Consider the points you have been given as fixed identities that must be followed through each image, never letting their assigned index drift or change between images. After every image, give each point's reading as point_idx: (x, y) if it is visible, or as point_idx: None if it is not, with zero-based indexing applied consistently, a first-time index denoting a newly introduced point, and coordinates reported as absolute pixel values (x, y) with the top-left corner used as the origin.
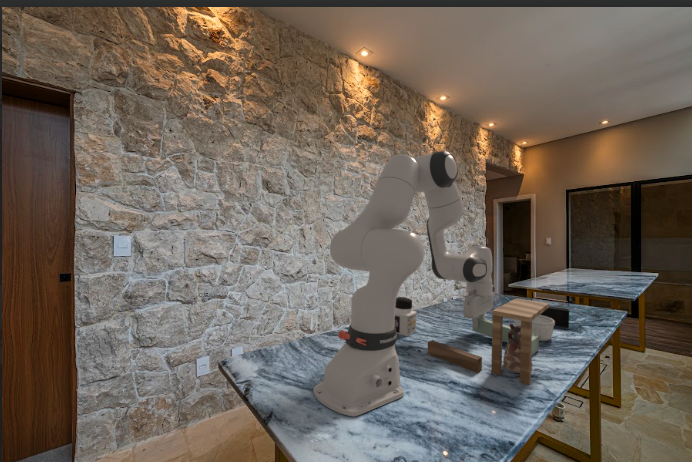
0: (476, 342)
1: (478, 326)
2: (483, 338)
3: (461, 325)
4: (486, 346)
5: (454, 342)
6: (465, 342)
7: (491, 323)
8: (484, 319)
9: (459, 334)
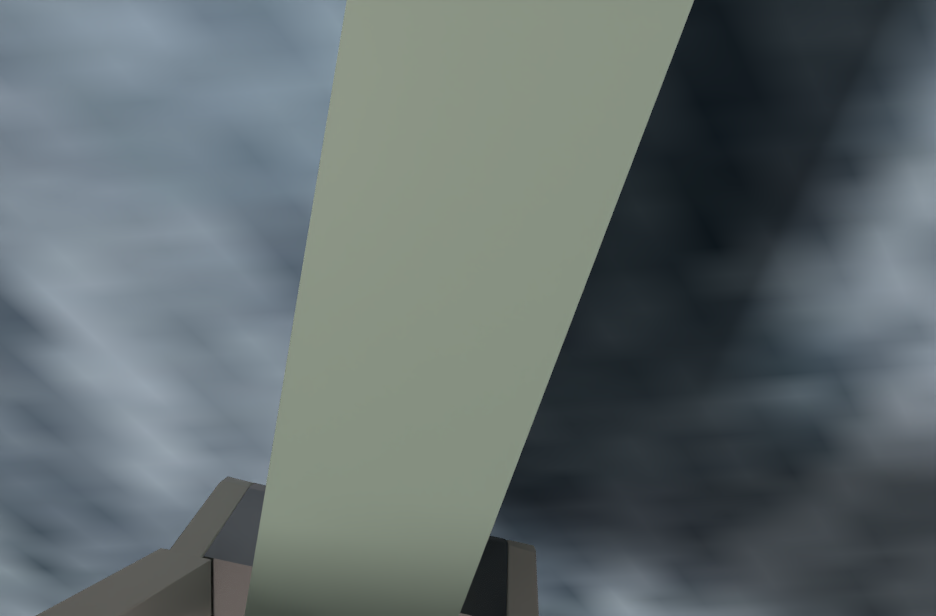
0: (766, 408)
1: None
2: None
3: None
4: (907, 271)
5: (881, 608)
6: (829, 517)
7: (535, 394)
8: (321, 582)
9: None
